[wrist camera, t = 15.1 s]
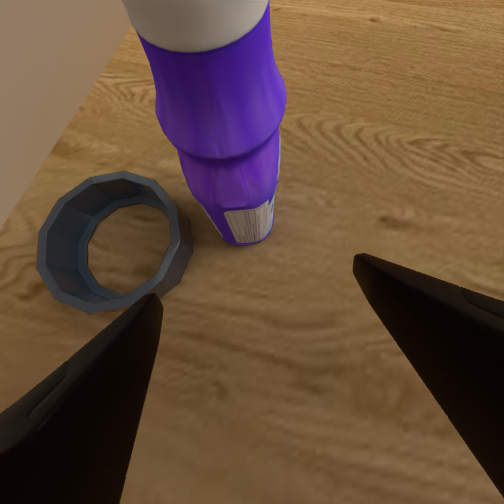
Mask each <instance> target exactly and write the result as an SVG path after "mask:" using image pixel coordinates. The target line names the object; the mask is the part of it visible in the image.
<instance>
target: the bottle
mask: <svg viewBox="0 0 504 504" xmlns="http://www.w3.org/2000/svg"><path fill="white" fill-rule="evenodd" d="M122 2H123V4H124V6H125V8H126V11H127V14H128V16H129V19H130V21H131V23H132V25H133V27H134V28H135V30H136V32H137V34H138V36H139V38H140V41H141V43H142V46H143V48H144V50H145V53H146V55H147V58H148V60H149V63H150V66H151V70H152V74H153V77H154V83H155V88H156V104H155V107H156V115H157V118H158V120H159V123H160V126H161V128H162V130H163V132H164V134H165V135H166V136H167V138H168V139H169V140H170V142H171V143H172V144H173V145H174V146H175V147H176V148H177V150H178V155H179V159H180V163H181V168H182V171H183V173H184V176H185V179H186V182H187V184H188V186H189V188H190V190H191V192H192V194H193V196H194V197H195V198H196V200H197V201H198V202H199V204H200V205H201V207H202V208H203V210H204V211H205V213H206V214H207V216H208V217H209V218H210V220H211V221H212V223H213V225H214V226H215V228H216V229H217V231H218V232H219V234H220V236H221V237H222V238H223V239H224V240H225V241H227V242H228V243H231V244H235V245H252V244H254V243H259V242H261V241H263V240H264V239H265V238H266V237H267V236H268V235H269V233H270V231H271V229H272V226H273V218H274V200H275V191H276V185H277V182H278V177H279V172H280V157H281V144H280V128H279V125H280V123H281V121H282V117H283V114H284V111H285V104H286V89H285V85H284V80H283V78H282V76H281V75H280V73H279V71H278V69H277V66H276V63H275V60H274V55H273V50H272V40H271V31H270V7H269V0H122Z"/></svg>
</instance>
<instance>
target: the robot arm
mask: <svg viewBox="0 0 504 504" xmlns="http://www.w3.org/2000/svg"><path fill="white" fill-rule="evenodd" d="M353 274H354V276H355V278H356V280H357V282H358V284H359V286H360V287H361V289H362V291H363V293H364V295H365V297H366V299H367V300H368V302H369V304H370V305H371V307H372V308H373V310H374V311H375V313H376V314H377V315H378V317H379V318H380V320H381V321H382V323H383V324H384V326H385V327H386V328H387V330H388V331H389V333H390V334H391V336H392V337H393V339H394V340H395V341H396V343H397V344H398V346H399V347H400V349H401V350H402V352H403V353H404V354H405V356H406V357H407V359H408V360H409V362H410V363H411V365H412V366H413V367H414V369H415V370H416V372H417V373H418V375H419V376H420V378H421V379H422V380H423V382H424V383H425V385H426V386H427V388H428V389H429V391H430V392H431V393H432V395H433V396H434V398H435V399H436V401H437V402H438V404H439V405H440V406H441V408H442V409H443V411H444V412H445V414H446V415H447V416H448V418H449V420H450V421H451V423H452V424H453V426H454V427H455V428H456V430H457V431H458V433H459V434H460V436H461V437H462V439H463V440H464V441H465V443H466V444H467V446H468V447H469V449H470V450H471V452H472V453H473V454H474V456H475V457H476V459H477V460H478V462H479V463H480V465H481V466H482V467H483V469H484V470H485V472H486V473H487V475H488V476H489V478H490V479H491V480H492V482H493V483H494V485H495V486H496V488H497V489H498V491H499V492H500V493H501V495H502V496H503V498H504V301H502V300H498V299H495V298H492V297H489V296H486V295H483V294H480V293H477V292H474V291H471V290H469V289H466V288H463V287H459V286H457V285H454V284H452V283H449V282H446V281H443V280H440V279H437V278H434V277H432V276H429V275H426V274H423V273H420V272H417V271H415V270H412V269H409V268H406V267H403V266H400V265H397V264H395V263H392V262H389V261H386V260H383V259H380V258H378V257H375V256H372V255H369V254H366V253H361V254H356V255H355V256H354V261H353ZM162 318H163V305H162V303H161V301H160V300H159V298H158V296H157V294H156V293H149V294H145V295H144V296H143V297H141V298H140V299H139V300H138V301H137V302H136V303H134V304H133V305H132V306H131V307H130V308H128V309H127V310H126V311H125V312H124V313H123V314H121V315H120V316H119V317H118V318H117V319H115V320H114V321H113V322H112V323H111V324H110V325H108V326H107V327H106V328H105V329H104V330H102V331H101V332H100V333H99V334H98V335H96V336H95V337H94V338H93V339H92V340H91V341H89V342H88V343H87V344H86V345H85V346H83V347H82V348H81V349H80V350H79V351H78V352H76V353H75V354H74V355H73V356H72V357H70V358H69V360H68V361H66V362H64V363H63V364H62V365H61V366H60V367H59V368H57V369H56V370H55V371H54V372H53V373H51V374H50V375H49V376H48V377H46V378H45V379H44V380H43V381H42V382H40V383H39V384H38V385H37V386H35V387H34V388H33V389H32V390H30V391H29V392H28V393H26V394H25V395H24V396H23V397H21V398H20V399H19V400H18V401H16V402H15V403H14V404H12V405H11V406H10V407H8V408H7V409H6V410H5V411H3V412H2V413H1V414H0V504H119V503H120V499H121V495H122V491H123V487H124V483H125V479H126V474H127V470H128V466H129V462H130V458H131V454H132V450H133V446H134V442H135V438H136V434H137V430H138V426H139V422H140V418H141V414H142V410H143V406H144V402H145V398H146V393H147V389H148V385H149V381H150V377H151V373H152V369H153V365H154V361H155V357H156V353H157V349H158V345H159V340H160V333H161V325H162Z"/></svg>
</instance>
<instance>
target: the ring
mask: <svg viewBox="0 0 504 504" xmlns="http://www.w3.org/2000/svg"><path fill="white" fill-rule="evenodd" d="M141 203H142V204H145V205H148V206H151V207H154V208H157V209H160V210H162V211H163V212H164V214H165V215H166V216H167V217H168V219H169V223H170V234H171V242H170V245H169V247H168V249H167V251H166V253H165V256H164V258H163V260H162V262H161V264H160V267H159V269H158V271H157V273H156V274H155V275H154V276H152V277H151V278H150V279H149V280H147V281H146V282H145V283H144V284H142V285H141V286H140V287H139V288H137V289H136V290H135V291H134V292H129V293H124V294H119V293H117V292H114V291H112V290H109V289H107V288H104V287H102V286H99V284H98V282H97V281H96V279H95V278H94V276H93V275H92V273H91V272H90V270H89V268H88V267H87V262H88V242H89V240H90V238H91V236H92V235H93V233H94V231H95V229H96V227H97V225H98V224H99V222H100V221H101V220H103V219H104V218H105V217H107V216H108V215H110V214H111V213H112V212H114V211H115V210H116V209H118V208H120V207H125V206H130V205H135V204H141ZM192 253H193V243H192V235H191V226H190V220H189V219H188V217H187V216H186V215H185V214H184V213H183V211H182V210H181V209H180V208H179V207H178V205H177V204H176V203H175V202H174V201H173V199H172V198H171V197H170V196H169V195H168V194H167V193H166V191H165V190H164V189H163V188H162V187H161V186H160V185H159V183H158V182H157V181H155V180H152V179H149V178H146V177H143V176H139V175H136V174H133V173H130V172H127V171H120V172H115V173H110V174H105V175H99V176H94V177H90V178H88V179H86V180H85V181H84V182H82V183H81V184H79V185H78V186H76V187H75V188H74V189H72V190H71V191H69V192H68V193H66V194H65V195H64V196H62V197H61V198H59V199H58V201H57V202H56V204H55V206H54V207H53V209H52V211H51V212H50V214H49V216H48V217H47V219H46V221H45V222H44V224H43V226H42V227H41V229H40V231H39V234H38V249H37V264H36V269H37V270H38V272H39V274H40V275H41V277H42V279H43V281H44V282H45V284H46V286H47V288H48V289H49V291H50V293H51V295H52V296H53V298H54V299H55V300H57V301H59V302H62V303H64V304H66V305H69V306H71V307H74V308H76V309H78V310H81V311H83V312H85V313H88V314H94V313H108V312H119V311H124V310H127V309H128V308H130V307H131V306H132V305H133V304H134V303H136V302H137V301H138V300H139V299H140V298H141V297H143V296H144V295H145V294H149V293H156V294H157V296H158V298H159V299H160V298H161V297H163V296H164V295H165V294H166V293H167V292H169V291H170V290H171V289H172V288H174V287H175V286H176V285H177V284H178V283H180V281H181V278H182V276H183V274H184V271H185V269H186V267H187V264H188V262H189V260H190V257H191V255H192Z"/></svg>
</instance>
